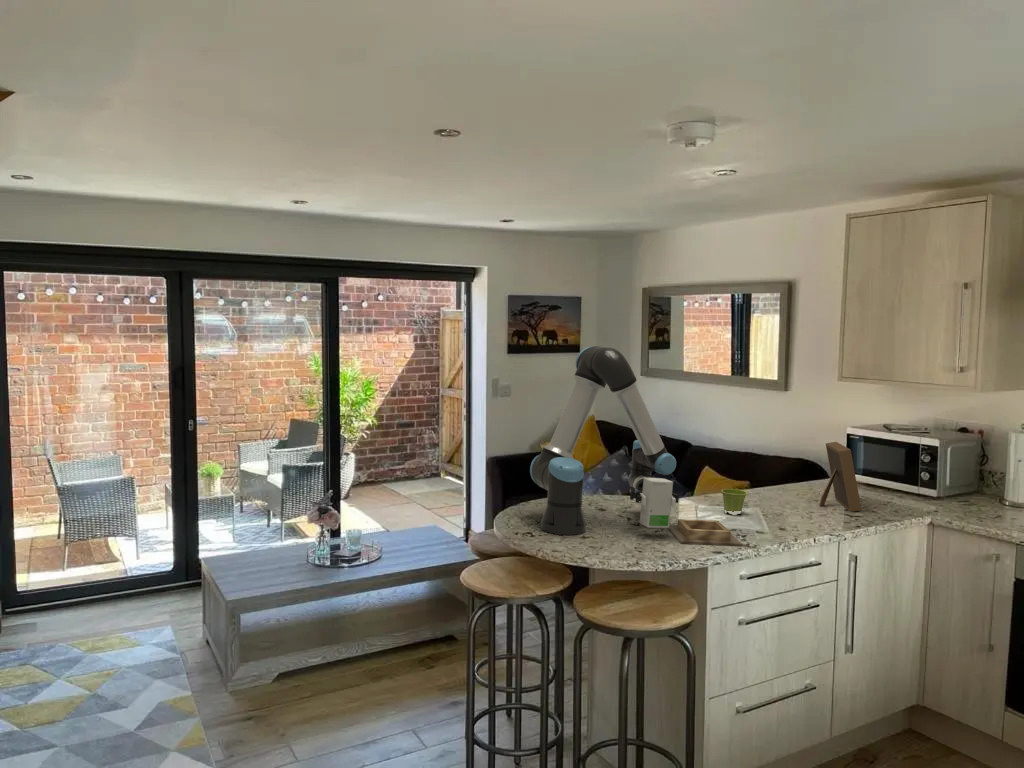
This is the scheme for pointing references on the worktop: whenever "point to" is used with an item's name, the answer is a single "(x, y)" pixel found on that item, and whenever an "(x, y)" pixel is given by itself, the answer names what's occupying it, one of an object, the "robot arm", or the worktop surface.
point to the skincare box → (656, 503)
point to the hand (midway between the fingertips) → (659, 502)
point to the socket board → (703, 533)
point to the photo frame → (842, 477)
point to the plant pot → (733, 499)
